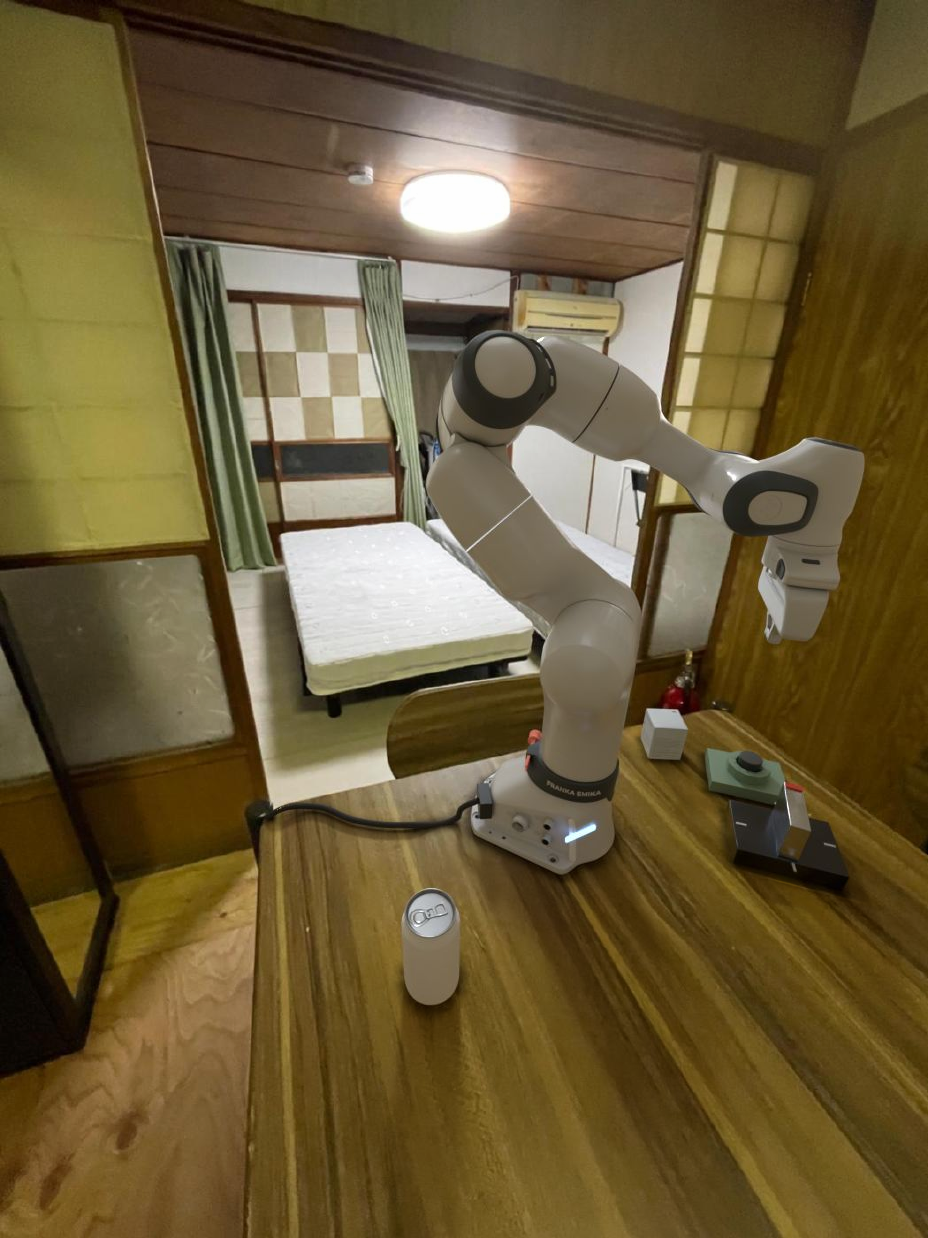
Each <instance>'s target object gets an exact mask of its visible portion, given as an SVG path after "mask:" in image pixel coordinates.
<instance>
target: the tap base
mask: <svg viewBox="0 0 928 1238" xmlns="http://www.w3.org/2000/svg"><path fill="white" fill-rule="evenodd" d="M775 804H776V802H775ZM773 809H774V808H768V807H764V806H760V805H755V804H751V803H746V802H742V801H738V800H733V799H728V801H727V805H726V807H725V811H724V816H725V823H726V829H727V836H728V840H729V842H728V843H729V849H730V854H731V860H732V863H733V864H737V865H740V866H744V867H749V868H752V869H756V870H760V871H763V872H767V873H770V874H775V875H779V876H782V877H786V878H790V879H795V880H798V881H801V882H806V883H808V884H809V883H810V884H813V885H816V886H821V887H825V888H828V889H832V890H836V891H840V892H843V891H844V889H845V887H846V885H847V883H848V881H849V880H850V873H849V872H848V869H847V867H846V864H845V862H844V858H843V856H842V853H841V850H840V849H839V846H838V843H837V840H836V837H835V835H834V833H833V830H832V827H831V825H830V822H829V821H825V820H821V819H816V818H812V817H808V818H809V823H810V828H811V833H810V835H809V837H808V840H807V842H806V844H805V846H804V849H803V851H802V853H801V856H800V858H799V860H798V861H796V860H793V859H789V858H786V857H783V856H780V855H778V849H777V841H776V833H775V824H774V816H773Z"/></svg>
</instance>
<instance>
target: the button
mask: <svg viewBox="0 0 928 1238" xmlns="http://www.w3.org/2000/svg"><path fill="white" fill-rule="evenodd" d="M741 751H742V752H741V753H740V755H739V758H738V761H737V763H738V765H739V766H740V767H741V768H743V769H745V770H747V771H750V772H759V771H760V769H761V766H762V763H763V759H764V758H763V757H761V755H760V754H758V753H757V752H754V751H750V750H741ZM762 758H763V759H762Z"/></svg>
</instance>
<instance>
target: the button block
mask: <svg viewBox="0 0 928 1238" xmlns="http://www.w3.org/2000/svg"><path fill="white" fill-rule="evenodd" d="M705 751H706V752H705V754H704V759H705V760H704V762H705V769H706V777H707V784H708V791H711V792H715V793H719V794H723V795H728V796H733V797H736V798H741V799H746V800H749V801H750V800H751V801H754V802H760V803H763V804H768V805H772V806H775V802H776V801H777V798H778V796H779V793H780V791H781V788H782V785H783V783H784V782H787V781H786V778H785V775H784V773H783V768H782V766H781V763H780V762H778V761H773V760H768V759H764V758H763V757H761V758H762V759H763V763H762V766H761V769H760V771H759V772H750V771H747V770H745V769H743V768H741V767H740V766H739V765H738V763H737V761H738V758H739V755H740V753H741V752H742V751H743V750H736V751H732V752H729V751H725V750H721V749H715V748H709V747H707V748H706V750H705Z"/></svg>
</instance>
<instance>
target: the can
mask: <svg viewBox="0 0 928 1238" xmlns="http://www.w3.org/2000/svg"><path fill="white" fill-rule="evenodd" d="M400 927H401V928H400V929H401V947H402V949H401V950H402V963H403V964H402V965H403V977H404V978H403V979H404V984H405V988H406V989H407V992H408V993H409V995H410V996H411V998H412V999H413V1000H415V1001H416V1002H418V1003H420V1004H422V1005H426V1006H435V1005H440V1004H442V1003H444V1002H446V1001H447V1000H448V999H449V998H450V997H451V996H452V995H453V994H454V993H455V992H456V989H457V987H458V984H459V979H460V964H461V963H460V959H461V957H460V956H461V919H460V913H459V910H458V907H457V906H456V903H455V901H454V899H453V898H452V897H451V895H450V894H449V893H447V891H445V890H443V889H439V888H435V887H430V888H424V889H421V890H419V891H418V892H416V893H414V894H413V895H412V896H411V897H410V898H409V899H408V901H407V903H406V905H405V907H404V911H403V914H402V917H401V926H400Z"/></svg>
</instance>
